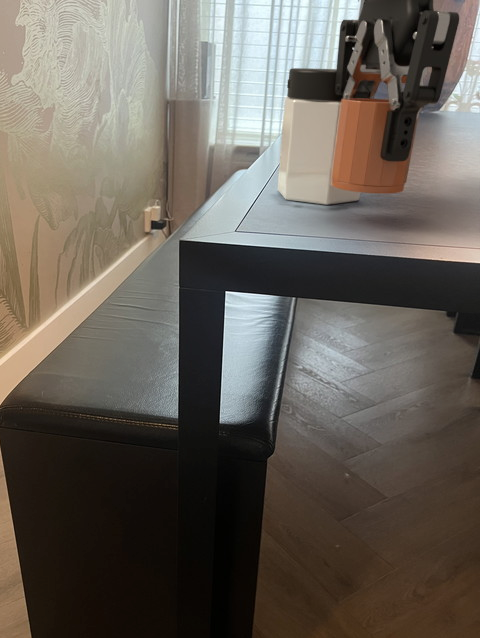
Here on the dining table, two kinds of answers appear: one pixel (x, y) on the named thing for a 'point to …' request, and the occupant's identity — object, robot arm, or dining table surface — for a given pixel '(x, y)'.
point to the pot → (365, 149)
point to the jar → (310, 138)
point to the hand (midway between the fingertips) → (372, 154)
